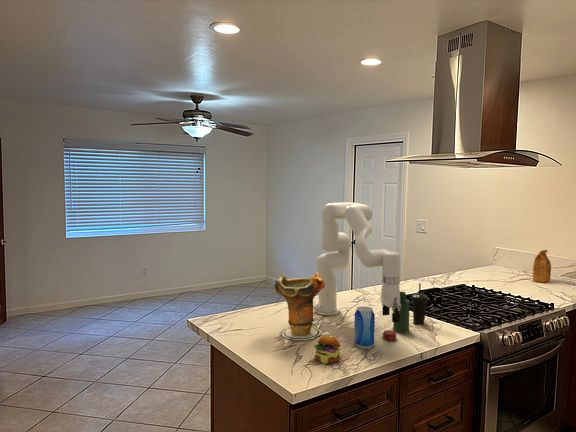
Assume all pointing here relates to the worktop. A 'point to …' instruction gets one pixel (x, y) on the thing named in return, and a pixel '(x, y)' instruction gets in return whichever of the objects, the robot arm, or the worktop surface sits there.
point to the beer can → (364, 327)
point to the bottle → (403, 315)
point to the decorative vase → (300, 305)
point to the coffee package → (542, 267)
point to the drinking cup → (419, 307)
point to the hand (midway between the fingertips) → (390, 318)
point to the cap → (389, 335)
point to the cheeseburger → (327, 349)
